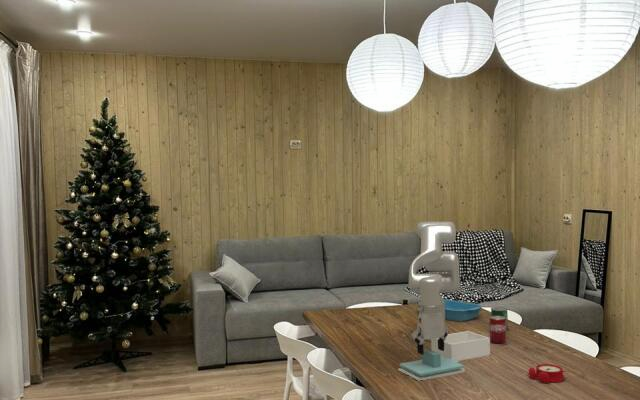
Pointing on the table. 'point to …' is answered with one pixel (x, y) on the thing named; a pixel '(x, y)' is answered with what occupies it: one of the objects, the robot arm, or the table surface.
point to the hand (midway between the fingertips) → (430, 351)
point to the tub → (463, 346)
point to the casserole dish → (460, 310)
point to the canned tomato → (500, 313)
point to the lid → (431, 364)
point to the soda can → (498, 330)
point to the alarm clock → (547, 373)
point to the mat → (430, 375)
